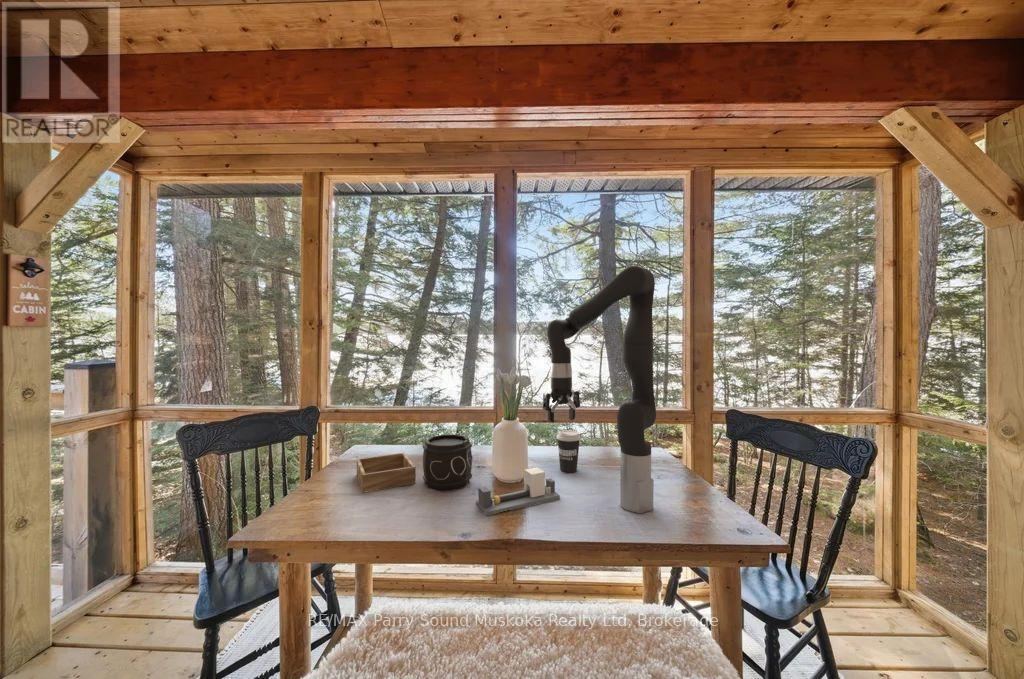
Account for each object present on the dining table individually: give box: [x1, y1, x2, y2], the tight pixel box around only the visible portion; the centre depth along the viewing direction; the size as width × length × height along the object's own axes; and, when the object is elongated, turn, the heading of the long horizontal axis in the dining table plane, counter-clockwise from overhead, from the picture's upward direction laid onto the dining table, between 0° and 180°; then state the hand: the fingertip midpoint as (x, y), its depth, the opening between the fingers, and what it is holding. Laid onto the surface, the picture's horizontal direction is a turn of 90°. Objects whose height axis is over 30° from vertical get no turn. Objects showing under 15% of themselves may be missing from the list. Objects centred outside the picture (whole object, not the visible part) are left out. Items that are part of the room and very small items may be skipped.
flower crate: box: [356, 452, 417, 493], centre depth 148 cm, size 19×18×6 cm
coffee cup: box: [556, 429, 582, 474], centre depth 156 cm, size 10×10×15 cm
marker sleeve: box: [523, 466, 546, 498], centre depth 131 cm, size 5×5×8 cm
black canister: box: [422, 433, 473, 492], centre depth 144 cm, size 18×18×16 cm
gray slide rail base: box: [475, 478, 561, 516], centre depth 128 cm, size 26×9×6 cm, turn 117°
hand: (561, 420), depth 142 cm, fingers open, 8 cm apart
